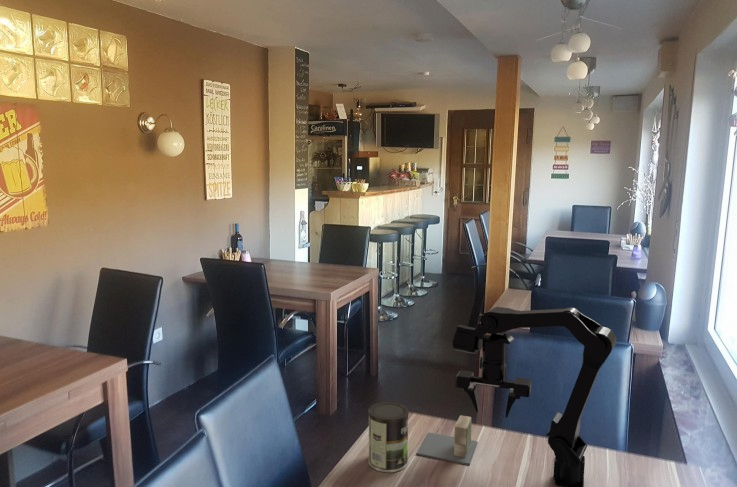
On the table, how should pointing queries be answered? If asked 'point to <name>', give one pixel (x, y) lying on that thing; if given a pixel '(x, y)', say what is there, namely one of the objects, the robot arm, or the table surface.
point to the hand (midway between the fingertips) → (492, 414)
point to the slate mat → (444, 449)
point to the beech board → (462, 436)
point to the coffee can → (388, 436)
